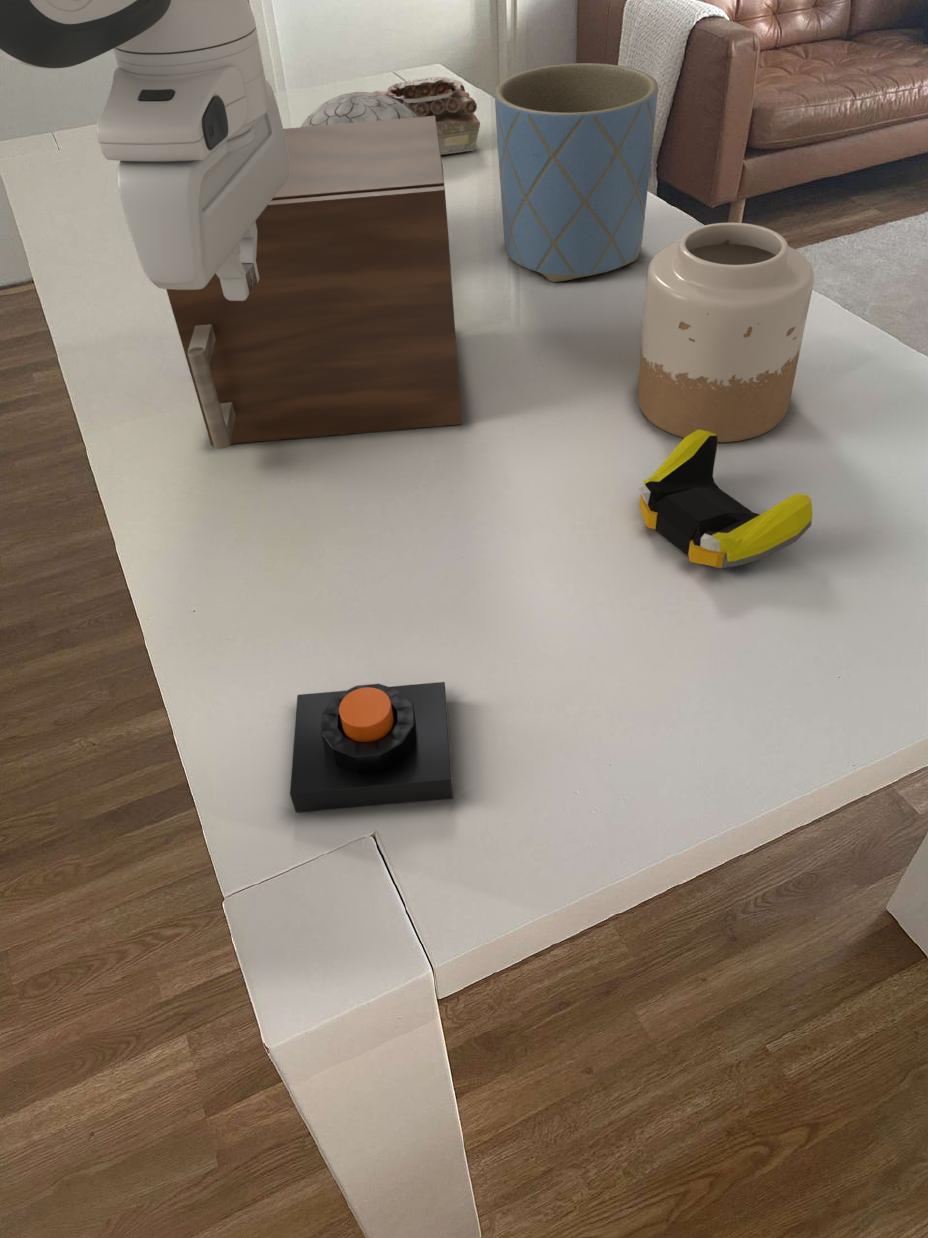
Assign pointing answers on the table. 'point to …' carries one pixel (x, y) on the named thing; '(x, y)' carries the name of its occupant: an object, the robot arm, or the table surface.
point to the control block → (372, 752)
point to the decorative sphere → (358, 110)
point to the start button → (366, 714)
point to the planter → (575, 166)
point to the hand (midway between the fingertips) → (242, 291)
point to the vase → (723, 331)
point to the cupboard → (362, 158)
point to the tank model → (441, 110)
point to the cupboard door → (330, 323)
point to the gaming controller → (715, 510)
